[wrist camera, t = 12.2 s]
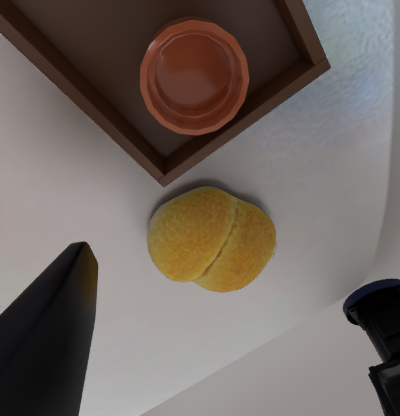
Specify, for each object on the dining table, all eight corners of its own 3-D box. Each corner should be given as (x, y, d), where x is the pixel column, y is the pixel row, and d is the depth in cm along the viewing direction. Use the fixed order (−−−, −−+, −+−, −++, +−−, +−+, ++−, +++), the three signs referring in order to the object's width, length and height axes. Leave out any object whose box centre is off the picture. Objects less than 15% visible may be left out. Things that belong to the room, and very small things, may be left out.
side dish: (256, 79, 16) (267, 93, 14) (184, 134, 17) (186, 153, 15) (201, -12, 13) (206, -10, 11) (121, 62, 15) (116, 75, 13)
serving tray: (312, 56, 16) (331, 68, 14) (163, 167, 19) (163, 188, 17) (127, -344, 9) (117, -428, 7) (-62, -59, 12) (-103, -64, 10)
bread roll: (178, 164, 19) (181, 203, 16) (286, 212, 22) (307, 251, 19) (128, 249, 23) (123, 293, 20) (226, 279, 26) (235, 320, 23)
